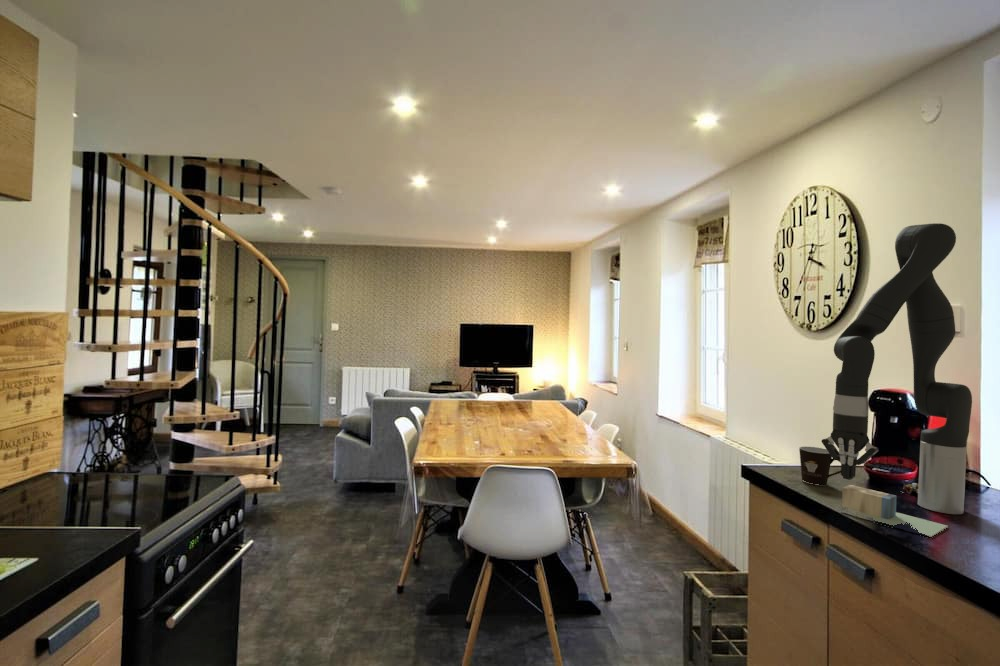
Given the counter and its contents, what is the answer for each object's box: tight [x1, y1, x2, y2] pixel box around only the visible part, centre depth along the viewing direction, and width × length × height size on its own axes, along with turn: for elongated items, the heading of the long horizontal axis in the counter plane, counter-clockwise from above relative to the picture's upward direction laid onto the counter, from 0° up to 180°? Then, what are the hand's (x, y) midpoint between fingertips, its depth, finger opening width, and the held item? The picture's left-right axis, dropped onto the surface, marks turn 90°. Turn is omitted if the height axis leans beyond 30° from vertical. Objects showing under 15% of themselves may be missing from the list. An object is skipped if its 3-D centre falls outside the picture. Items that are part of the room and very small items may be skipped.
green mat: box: [860, 511, 949, 538], centre depth 125 cm, size 12×18×1 cm, turn 35°
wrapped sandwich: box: [901, 482, 919, 495], centre depth 145 cm, size 7×12×4 cm, turn 39°
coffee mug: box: [798, 446, 841, 486], centre depth 153 cm, size 12×9×10 cm
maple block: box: [841, 484, 897, 520], centre depth 129 cm, size 5×5×10 cm
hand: (847, 478), depth 133 cm, fingers closed
